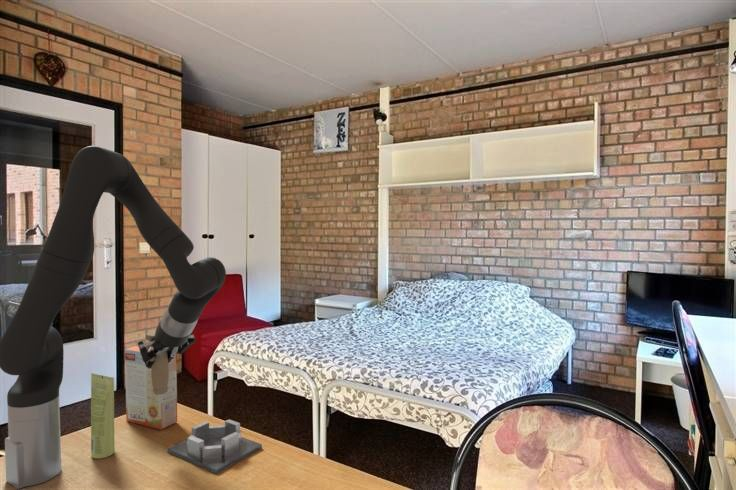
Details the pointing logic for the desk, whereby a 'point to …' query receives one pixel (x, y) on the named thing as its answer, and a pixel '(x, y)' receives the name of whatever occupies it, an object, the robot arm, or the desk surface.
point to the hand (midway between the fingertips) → (156, 363)
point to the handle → (159, 370)
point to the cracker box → (148, 393)
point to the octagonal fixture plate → (215, 446)
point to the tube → (102, 416)
